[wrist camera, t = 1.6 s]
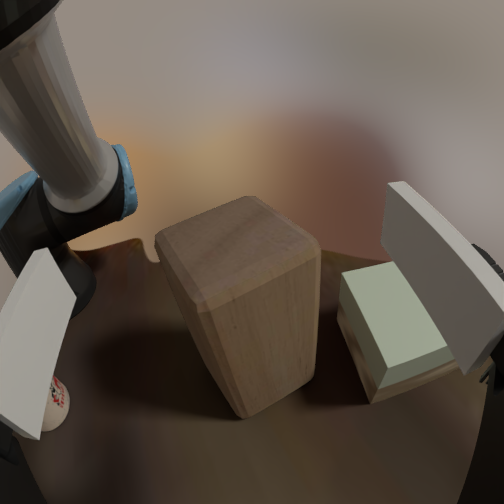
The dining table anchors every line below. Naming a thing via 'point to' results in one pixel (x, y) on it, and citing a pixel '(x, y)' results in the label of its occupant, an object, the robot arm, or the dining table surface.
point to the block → (247, 298)
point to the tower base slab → (366, 375)
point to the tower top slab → (391, 324)
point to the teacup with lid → (55, 405)
